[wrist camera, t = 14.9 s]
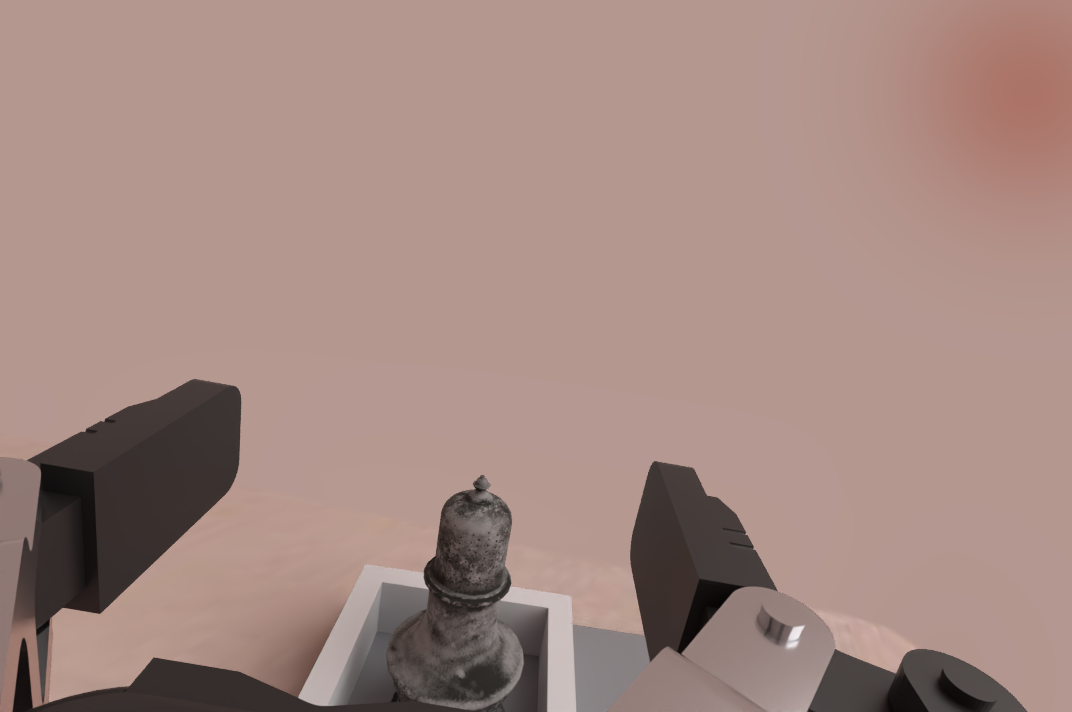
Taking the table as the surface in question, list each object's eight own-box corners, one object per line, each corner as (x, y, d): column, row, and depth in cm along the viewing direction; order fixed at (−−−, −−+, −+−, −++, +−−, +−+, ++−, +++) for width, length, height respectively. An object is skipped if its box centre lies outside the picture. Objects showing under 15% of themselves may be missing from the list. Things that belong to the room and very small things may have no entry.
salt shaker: (418, 649, 30) (447, 431, 27) (528, 692, 28) (572, 466, 25) (350, 745, 24) (376, 485, 21) (482, 804, 23) (530, 534, 20)
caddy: (227, 885, 20) (229, 795, 19) (358, 606, 33) (364, 545, 32) (807, 971, 20) (841, 887, 19) (705, 660, 34) (722, 601, 33)
